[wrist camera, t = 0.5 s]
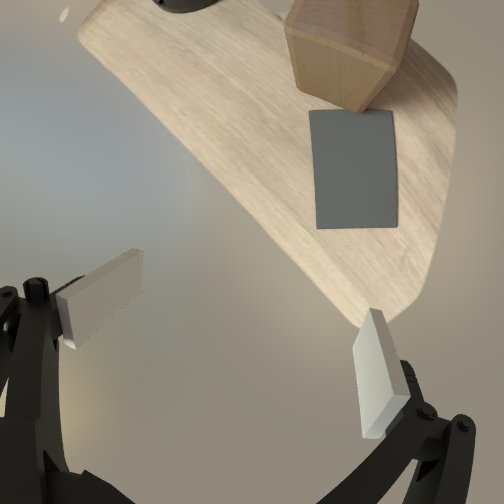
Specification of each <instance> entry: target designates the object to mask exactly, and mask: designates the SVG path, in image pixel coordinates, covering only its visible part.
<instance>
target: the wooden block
mask: <svg viewBox="0 0 504 504" xmlns="http://www.w3.org/2000/svg"><path fill="white" fill-rule="evenodd" d="M418 7H419V2H418V0H295V1H294V3H293V5H292V7H291V9H290V11H289V13H288V15H287V17H286V19H285V21H284V30H285V34H286V39H287V43H288V48H289V52H290V57H291V61H292V66H293V71H294V76H295V81H296V86H297V88H298V89H299V90H300V91H302V92H305V93H307V94H310V95H313V96H315V97H318V98H320V99H323V100H325V101H328V102H330V103H333V104H335V105H337V106H340V107H342V108H344V109H347V110H349V111H351V112H353V113H356V114H361V113H362V112H363V111H364V110H365V109H366V108H367V107H368V106H369V104H370V103H371V102H372V101H373V100H374V98H375V97H376V96H377V95H378V94H379V93H380V91H381V90H382V89H383V88H384V87H385V85H386V84H387V83H388V82H389V81H390V80H391V78H392V77H393V76H394V75H395V74H396V72H397V71H398V70H399V69H400V68H401V65H402V62H403V59H404V56H405V53H406V50H407V46H408V43H409V40H410V36H411V33H412V29H413V26H414V22H415V19H416V15H417V11H418Z"/></svg>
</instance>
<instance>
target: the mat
mask: <svg viewBox="0 0 504 504" xmlns="http://www.w3.org/2000/svg"><path fill="white" fill-rule="evenodd" d="M309 119H310V129H311V141H312V153H313V167H314V182H315V201H316V224H317V229H345V228H396V227H397V184H396V159H395V144H394V132H393V122H392V113H391V111H382V110H364V111H363V112H362V113H361V114H356V113H353V112H351V111H349V110H315V111H309Z"/></svg>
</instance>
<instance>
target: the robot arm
mask: <svg viewBox="0 0 504 504" xmlns="http://www.w3.org/2000/svg"><path fill="white" fill-rule="evenodd" d="M216 1H217V0H153V2H154V3H155V4H156V5H158V6H159V7H160V8H161V9H163V10H165V11H167V12H170V13H188V12H193V11H196V10H199V9H202V8H205V7H207V6H209V5H211V4H212V3H214V2H216ZM143 252H144V251H142V250H138V249H134V248H132V249H130V250H129V251H127V252H125V253H123V254H122V255H120V256H118V257H116V258H115V259H113V260H111V261H109V262H108V263H106V264H104V265H103V266H101V267H99V268H98V269H96V270H94V271H93V272H91V273H89V274H88V275H84V276H80V277H77V278H75V279H73V280H72V281H70V283H67V284H65V286H62V287H60V288H59V289H57V290H55V291H54V292H52V293H51V294H49V288H48V281H47V280H46V279H44V278H41V277H35V278H31V279H28V280H26V281H25V282H24V283H23V287H24V293H25V298H26V299H25V298H21V297H19V296H18V292H17V289H16V288H15V287H12V286H6V287H3V288H0V397H1V394H2V392H3V389H4V387H5V384H6V382H7V379H8V377H9V379H8V387H7V396H6V405H5V415H4V417H0V504H135V503H134V502H133V501H131V500H130V499H129V498H127V497H126V496H125V495H123V494H122V493H121V492H120V491H118V490H117V489H116V488H115V487H114V486H112V485H111V484H109V483H107V482H106V481H104V480H102V479H100V478H98V477H97V476H95V475H93V474H91V473H90V472H88V471H86V470H84V471H83V473H82V474H76V473H73V472H69V469H68V467H67V464H66V461H65V457H64V450H63V442H62V433H61V422H60V409H59V408H60V407H59V378H58V377H59V373H58V372H59V370H58V369H59V365H58V364H59V340H58V337H59V336H61V335H62V334H63V337H64V342H65V344H66V345H68V346H70V347H72V348H73V349H75V350H76V349H77V348H79V347H80V346H81V345H82V344H83V343H84V342H85V341H86V340H88V339H89V338H90V337H91V336H92V335H93V334H94V333H95V332H97V331H98V330H99V329H100V328H101V327H102V326H103V325H104V324H106V323H107V322H108V321H109V320H110V319H111V318H112V317H113V316H115V315H116V314H117V313H118V312H119V311H120V310H122V309H123V308H124V307H125V306H126V305H128V304H129V303H130V302H131V301H132V300H133V299H134V298H136V297H137V296H138V295H139V294H140V293H141V292H142V285H143V281H142V280H143ZM3 329H4V331H3ZM353 355H354V362H355V369H356V377H357V385H358V394H359V403H360V412H361V423H362V435H363V438H372V439H379V438H380V437H381V435H382V434H383V433H384V431H386V438H385V439H384V440H383V441H382V442H381V443H380V444H379V446H377V448H376V449H375V450H374V451H373V452H372V453H371V454H370V455H369V456H368V457H367V458H366V459H365V460H364V461H363V462H362V463H361V464H360V465H359V466H358V467H357V468H356V469H355V470H354V471H353V472H352V473H351V474H350V475H349V476H348V477H347V478H346V479H344V480H343V481H342V482H341V483H340V484H339V485H338V486H337V487H335V489H333V490H332V491H331V492H330V493H329V494H327V495H326V496H325V497H324V498H323V499H321V500H320V501H319V502H318V503H317V504H377V503H378V502H379V500H380V499H381V498H382V497H383V496H384V495H385V494H386V492H387V491H388V490H389V489H390V488H391V486H392V485H393V484H394V483H395V481H396V480H397V479H398V477H399V476H400V475H401V474H402V472H403V471H404V470H405V468H406V467H407V466H408V464H409V463H410V461H411V460H412V459H416V460H418V463H417V466H416V469H415V472H414V475H413V478H412V480H411V483H410V486H409V488H408V491H407V493H406V496H405V498H404V501H403V503H402V504H465V503H466V498H467V493H468V488H469V483H470V477H471V471H472V464H473V456H474V447H475V435H476V427H475V424H474V422H473V420H472V419H471V418H470V417H468V416H466V415H463V414H458V415H456V416H455V417H454V418H453V419H452V420H451V421H449V420H446V419H443V418H439V417H438V415H437V411H436V410H435V408H434V407H433V406H431V405H430V404H428V403H426V402H424V399H423V396H422V393H421V390H420V387H419V384H418V383H417V382H418V381H417V379H416V377H415V373H414V370H413V368H412V367H411V365H410V364H409V363H408V362H407V361H404V360H399V357H398V354H397V351H396V348H395V346H394V343H393V340H392V337H391V335H390V331H389V329H388V326H387V323H386V321H385V318H384V315H383V313H382V311H381V310H377V309H372V308H369V310H368V312H367V315H366V317H365V320H364V322H363V324H362V327H361V329H360V332H359V334H358V336H357V339H356V341H355V343H354V345H353Z"/></svg>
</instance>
